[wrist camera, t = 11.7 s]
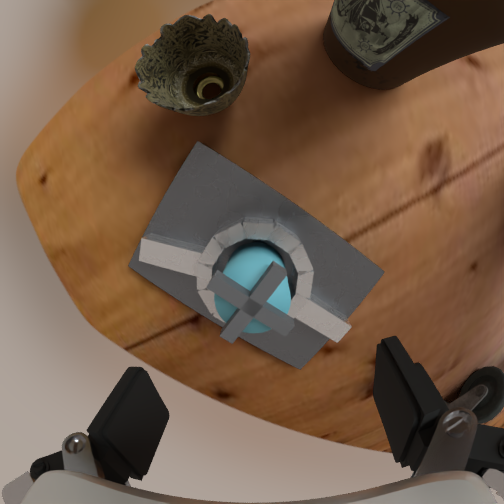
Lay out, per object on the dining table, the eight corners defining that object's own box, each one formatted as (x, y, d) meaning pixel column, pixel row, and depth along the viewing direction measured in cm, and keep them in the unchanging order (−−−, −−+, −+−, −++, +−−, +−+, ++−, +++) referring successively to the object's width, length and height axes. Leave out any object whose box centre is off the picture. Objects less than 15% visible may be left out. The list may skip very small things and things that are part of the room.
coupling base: (378, 266, 24) (395, 281, 21) (298, 361, 28) (302, 385, 24) (201, 143, 22) (189, 136, 18) (134, 261, 25) (115, 274, 21)
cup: (214, 146, 22) (190, 132, 14) (156, 101, 21) (114, 75, 13) (271, 86, 20) (274, 47, 13) (210, 44, 19) (190, -1, 12)
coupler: (280, 237, 23) (285, 263, 16) (289, 292, 24) (296, 335, 17) (221, 247, 23) (202, 276, 16) (233, 301, 24) (221, 345, 18)
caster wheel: (480, 351, 28) (418, 423, 31) (516, 380, 19) (443, 460, 21) (488, 362, 29) (431, 428, 31) (520, 389, 20) (455, 462, 22)
